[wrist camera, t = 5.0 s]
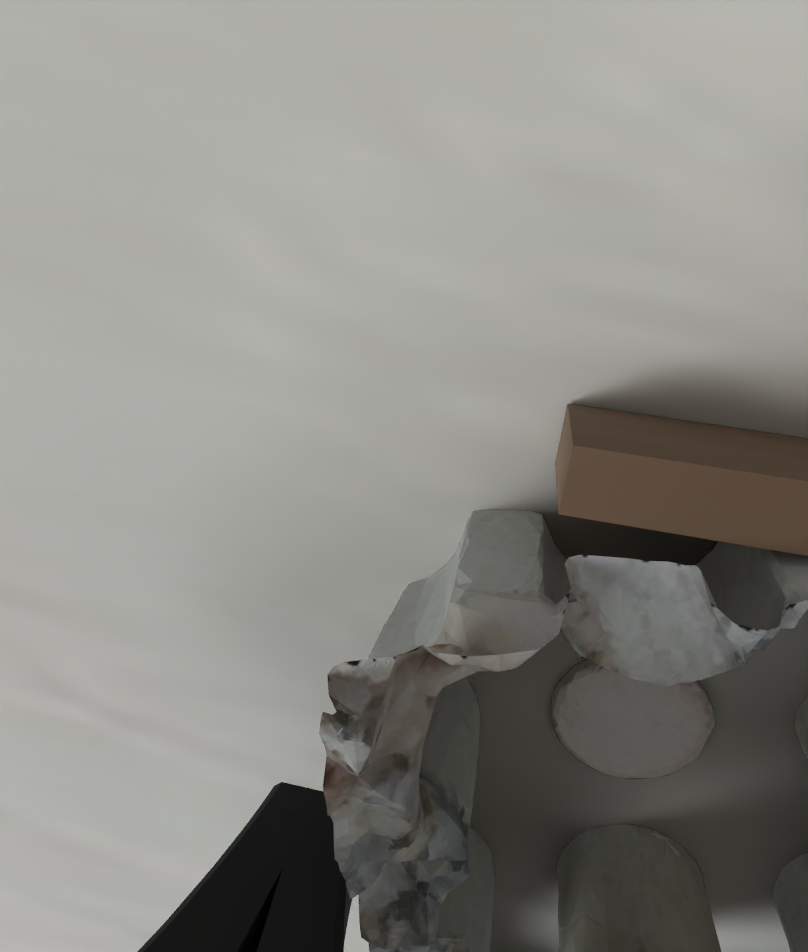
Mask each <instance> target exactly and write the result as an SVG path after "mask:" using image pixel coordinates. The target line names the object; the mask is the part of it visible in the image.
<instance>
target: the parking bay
mask: <svg viewBox="0 0 808 952" xmlns="http://www.w3.org/2000/svg"><path fill="white" fill-rule="evenodd" d="M555 464H556V482H557V499H558V514H559V515H565V516H571V517H577V518H583V519H589V520H595V521H601V522H607V523H613V524H619V525H625V526H631V527H637V528H643V529H649V530H655V531H661V532H667V533H673V534H679V535H685V536H691V537H697V538H703V539H709V540H715V541H721V542H727V543H733V544H739V545H745V546H751V547H757V548H763V549H769V550H775V551H780V552H786V553H792V554H798V555H804V556H808V439H806V438H800V437H793V436H786V435H779V434H772V433H765V432H758V431H751V430H745V429H738V428H731V427H724V426H717V425H710V424H703V423H696V422H690V421H683V420H676V419H669V418H662V417H655V416H648V415H641V414H635V413H628V412H621V411H614V410H607V409H600V408H593V407H586V406H580V405H573V404H567V409H566V414H565V419H564V424H563V429H562V434H561V439H560V444H559V448H558V453H557V458H556V463H555Z"/></svg>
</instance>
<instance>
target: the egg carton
mask: <svg viewBox="0 0 808 952" xmlns="http://www.w3.org/2000/svg"><path fill="white" fill-rule="evenodd" d="M807 609H808V556H804V555H798V554H792V553H786V552H780V551H775V550H769V549H763V548H757V547H751V546H745V545H739V544H733V543H727V542H721V541H718V542H717V544H716V546H715V548H714V549H713V550H712V551H711V552H710V553H708V554H707V555H706V556H705V557H704V558H703V559H702V560H701V561H700V562H699V563H697V564H696V565H682V564H677V563H673V562H668V561H645V560H637V559H629V558H618V557H605V556H591V555H577V556H573V557H568V559H566V558H565V557H563V555H562V554H561V553H560V551H559V550H558V548H557V547H556V545H555V543H554V541H553V539H552V536H551V534H550V532H549V529H548V527H547V524H546V522H545V520H544V517H543V515H541V514H539V513H536V512H533V511H521V510H482V511H473V512H472V513H471V515H470V517H469V519H468V521H467V524H466V528H465V531H464V533H463V536H462V539H461V541H460V544H459V547H458V549H457V552H456V553H455V554H454V556H453V557H452V558H451V560H450V561H449V562H448V564H447V565H445V566H444V567H443V568H441V569H440V570H439V571H437V572H436V573H434V574H433V575H432V576H430V577H429V578H427V579H424V580H421V581H417V582H414V583H411V584H409V585H408V586H407V588H406V589H405V590H404V592H403V593H402V595H401V597H400V599H399V601H398V603H397V605H396V607H395V609H394V611H393V613H392V614H391V616H390V617H389V619H388V620H387V622H386V624H385V625H384V627H383V629H382V631H381V633H380V635H379V637H378V639H377V641H376V643H375V646H374V648H373V649H372V651H371V653H370V655H369V658H370V659H368V660H359V661H350V662H344V663H342V664H339V665H337V666H335V667H333V669H332V670H331V671H330V672H329V674H328V689H329V696H330V698H331V700H332V703H333V705H334V707H335V709H336V711H337V712H336V713H335V714H333V715H331V714H328V713H325V712H323V713H322V716H321V724H320V732H319V733H320V736H321V738H322V741H323V743H324V744H325V749H326V754H327V758H326V767H325V775H324V784H323V790H324V796H325V800H326V806H327V815H328V816H330V817H331V818H332V821H333V824H334V855H335V860H336V861H337V862H338V864H339V868H340V872H341V873H342V875H343V877H344V878H345V883H346V887H347V891H348V894H349V897H350V899H352V898H353V897H355V896H356V895H358V894H359V918H360V930H361V937H362V938H363V939H365V940H366V941H368V942H369V950H370V952H490V950H491V938H492V924H493V905H494V887H495V871H494V863H493V857H492V853H491V851H490V849H489V848H488V846H487V845H486V842H485V841H484V840H483V838H482V837H481V836H480V835H479V834H478V833H477V832H476V831H475V830H474V829H473V828H471V827H470V821H471V815H472V809H473V799H474V790H475V780H476V770H477V760H478V750H479V740H480V725H481V714H480V709H479V705H478V701H477V698H476V695H475V693H474V691H473V689H472V687H471V685H470V683H469V681H468V678H467V676H469V675H472V674H474V673H476V672H479V671H494V672H501V671H506V670H511V669H515V668H517V667H518V666H520V665H521V664H522V663H524V662H525V661H526V660H527V659H529V658H530V657H531V656H533V655H534V654H535V653H537V652H538V651H539V650H540V649H542V648H543V647H544V646H546V645H547V644H548V643H550V642H551V641H552V640H553V639H555V638H556V637H557V636H559V632H561V633H562V635H563V636H564V637H565V638H566V640H567V641H568V642H569V643H570V644H571V646H572V647H573V648H574V649H575V651H576V652H577V653H578V654H579V655H580V656H583V657H585V658H587V659H588V660H586V661H583V662H581V663H579V664H577V665H575V666H574V667H573V668H572V669H571V670H569V672H568V673H567V674H566V675H565V676H564V677H563V678H562V679H561V680H560V681H559V683H558V684H557V686H556V687H555V689H554V693H553V696H552V700H551V713H552V718H553V721H554V724H555V725H554V729H555V731H556V732H557V734H558V737H559V739H560V741H561V742H562V743H563V744H564V745H565V746H566V748H567V749H568V750H569V751H570V752H571V753H572V754H573V755H574V756H575V757H576V758H577V759H579V760H580V761H582V762H583V763H584V764H586V765H587V766H589V767H592V768H594V769H596V770H598V771H600V772H602V773H605V774H607V775H611V776H616V777H621V778H626V779H647V778H654V777H660V776H666V775H669V774H671V773H674V772H676V771H678V770H680V769H681V768H683V767H684V766H686V765H687V764H689V763H690V762H692V761H693V760H695V759H696V758H698V757H699V755H700V753H701V751H702V749H703V747H704V745H705V743H706V741H707V739H708V737H709V735H710V733H711V731H712V729H713V727H714V725H715V720H714V714H713V708H712V706H711V704H710V701H709V699H708V697H707V695H706V693H705V691H704V690H703V688H702V687H701V686H700V684H699V683H698V682H697V681H699V680H702V679H706V678H709V677H712V676H715V675H718V674H721V673H724V672H727V671H730V670H733V669H736V668H738V667H739V666H740V665H741V664H742V663H743V662H744V663H745V665H746V660H747V659H748V658H749V657H751V656H752V655H753V654H755V653H756V652H757V651H759V650H764V649H765V648H766V647H767V645H768V644H769V643H770V642H771V640H772V639H773V638H774V636H775V635H776V634H777V633H778V631H779V630H780V629H794V628H795V626H796V625H797V623H798V622H799V620H800V619H801V617H802V616H803V615H804V613H805V612H806V611H807ZM795 718H796V732H797V735H798V738H799V741H800V744H801V747H802V750H803V752H804V754H805V756H806V758H807V760H808V695H807V696H806V698H805V699H804V701H803V702H802V704H801V706H800V708H799V710H798V713H797V715H796V717H795ZM556 870H557V876H558V888H559V903H558V923H559V952H721V949H720V945H719V941H718V937H717V933H716V930H715V926H714V922H713V918H712V914H711V911H710V907H709V903H708V899H707V895H706V890H705V886H704V882H703V877H702V873H701V871H700V869H699V867H698V865H697V863H696V861H695V860H694V859H693V858H692V857H691V856H690V854H689V853H688V852H687V851H686V850H685V849H684V848H683V847H682V846H681V845H679V844H678V843H677V842H675V841H673V840H671V839H670V838H668V837H667V836H666V835H663V834H661V833H658V832H656V831H654V830H653V829H647V828H643V827H639V826H635V825H629V824H613V825H607V826H601V827H595V828H590V829H588V830H586V831H584V832H582V833H580V834H579V835H578V836H576V837H575V838H574V839H573V840H572V841H571V842H570V843H569V844H568V845H567V846H566V847H565V849H564V850H563V852H562V853H561V855H560V857H559V861H558V865H557V869H556ZM773 900H774V904H775V908H776V910H777V912H778V914H779V917H780V920H781V923H782V926H783V929H784V932H785V935H786V938H787V940H788V944H789V948H790V951H791V952H808V852H806V853H804V854H802V855H800V856H798V857H796V858H794V859H792V860H791V861H790V862H789V863H787V864H786V865H785V866H784V867H783V868H782V869H781V871H780V873H779V875H778V877H777V880H776V884H775V886H774V890H773Z"/></svg>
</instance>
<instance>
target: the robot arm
mask: <svg viewBox="0 0 808 952" xmlns="http://www.w3.org/2000/svg"><path fill="white" fill-rule="evenodd" d="M351 902H352V899H350V897H349V894H348V891H347V887H346V883H345V878H344V877H343V875H342V873H341V872H340V868H339V864H338V862H337V861H336V860H335V855H334V824H333V821H332V818H331V817H330V816H328V815H327V806H326V800H325V796H324V792H323V791H318V790H314V789H309V788H305V787H301V786H296V785H292V784H288V783H283V782H281V783H279V784H277V785H275V786H274V787H273V789H272V790H271V792H270V793H269V794H268V796H267V797H266V799H265V800H264V802H263V803H262V804H261V806H260V807H259V809H258V810H257V811H256V813H255V814H254V815H253V817H252V818H251V819H250V821H249V822H248V823H247V825H246V826H245V827H244V829H243V830H242V831H241V832H240V834H239V835H238V836H237V838H236V839H235V840H234V841H233V843H232V844H231V845H230V846H229V848H228V849H227V850H226V851H225V853H224V854H223V855H222V856H221V858H220V859H219V860H218V861H217V863H216V864H215V865H214V866H213V867H212V869H211V870H210V871H209V872H208V873H207V874H206V876H205V877H204V878H203V879H202V880H201V881H200V883H199V884H198V885H197V886H196V887H195V888H194V890H193V891H192V892H191V893H190V894H189V895H188V897H187V898H186V899H185V900H184V901H183V902H182V904H181V905H180V906H179V907H178V908H177V909H176V911H175V912H174V913H173V914H172V915H171V916H170V917H169V919H168V920H167V921H166V922H165V923H164V924H163V925H162V926H161V927H160V929H159V930H158V931H157V932H156V933H155V934H154V935H153V936H152V937H151V938H150V939H149V940H148V941H147V942H146V943H145V944H144V946H143V947H142V948H141V949H140V950H139V951H138V952H343V948H344V940H345V934H346V927H347V922H348V916H349V911H350V906H351Z"/></svg>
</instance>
